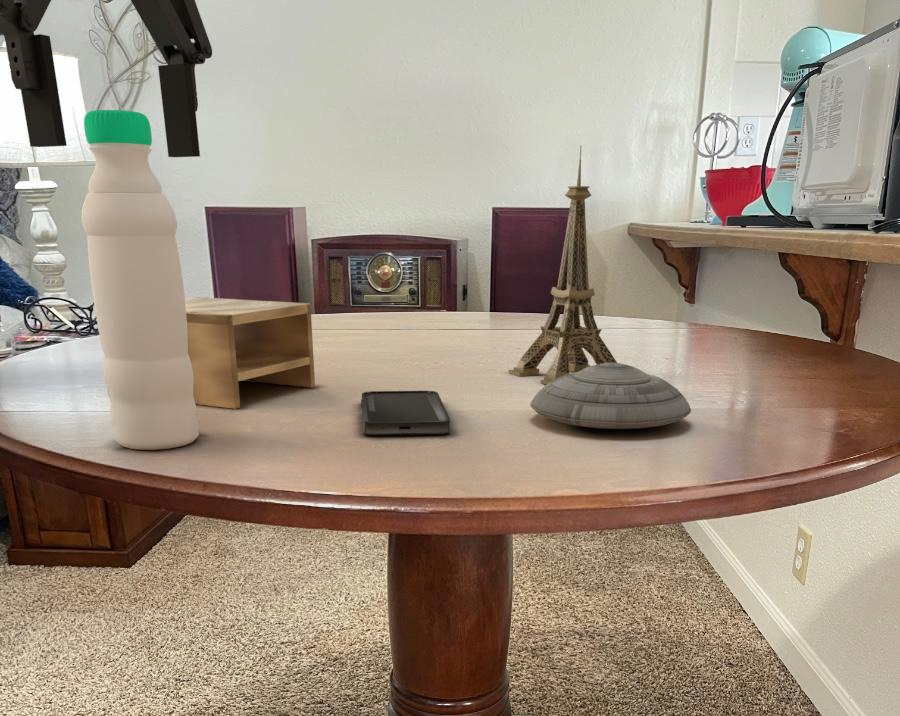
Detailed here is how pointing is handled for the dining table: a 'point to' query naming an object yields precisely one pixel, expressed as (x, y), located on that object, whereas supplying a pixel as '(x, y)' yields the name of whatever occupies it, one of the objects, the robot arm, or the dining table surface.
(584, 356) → the eiffel tower
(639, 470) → the dining table surface
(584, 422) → the flying saucer
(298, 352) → the rack
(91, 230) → the water bottle
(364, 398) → the phone
